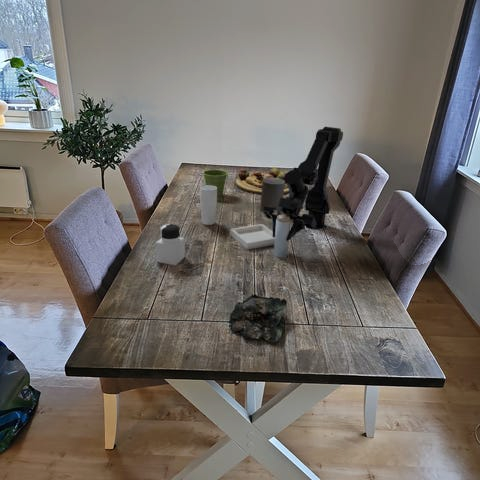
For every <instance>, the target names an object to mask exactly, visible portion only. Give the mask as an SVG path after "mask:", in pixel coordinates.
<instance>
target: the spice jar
mask: <svg viewBox="0 0 480 480" xmlns="http://www.w3.org/2000/svg"><path fill="white" fill-rule="evenodd" d="M291 222H292V220H290V216H288V215H284V214H281V215H278V216H277V219H276V229H275V242H274V245H273V256H274V257H275V258H277V259H278V258H279V259H284V258H287V257H288V251H289V243H290V240H289V241H287V240H286V239H287V236H288V234H289V232H290V230H291Z"/></svg>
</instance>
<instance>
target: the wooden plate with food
mask: <svg viewBox="0 0 480 480" xmlns="http://www.w3.org/2000/svg"><path fill="white" fill-rule="evenodd" d="M286 173H287V172H285V171H281V172H280V170H279V169H278V168H277V167H275V166H274V167H271V168H270V170H269V173H266V172H260V171H257V170H256V171H253V172H251V173H250V172H249V171H248V170H247V169H245V168H241V169H240V170H239V171H238V175H237V176H238V177H237V178H236V179H235V186H236V187H237V188H239V190H241V191H244V192H245V193H250V194H253V195H254V194H255V195H260V196H261V194H262V182H263V179H264V178H279V179H282V180H284V177H285V174H286ZM284 181H285V180H284ZM290 192H291V191H290V190H289V189H288V187H287V184H286V182H285V184H284V194H283V195H286V194H287V195H288V194H290Z"/></svg>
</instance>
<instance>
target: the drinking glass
mask: <svg viewBox="0 0 480 480" xmlns="http://www.w3.org/2000/svg"><path fill="white" fill-rule="evenodd" d="M199 202H200V204H199V205H200V212H201V213H200V214H201V224H203V225H204V226H212V225H214V224H215V223H216V211H217V203H218V197H217V187H216V186H212V185H206V184H205V185H201V186H200V187H199Z"/></svg>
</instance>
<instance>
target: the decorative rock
mask: <svg viewBox="0 0 480 480" xmlns="http://www.w3.org/2000/svg"><path fill="white" fill-rule="evenodd" d="M287 306H288V301H287V300H286V299H285V298H282V299H281V298H279V297H271V296H270V297H267V296H261V295H257V294H251V296H249V297H248V298H246V299H245V300H243V301H239V302H236V304H235V305H234V309H233V310H232V312H231V313H230V314H229V322H228V324H229V325H228V326H230V327H229V329H230V331H233V332H240V334H241V335H242V337H244V338H250V339H260V338H263V339H265V340H266V342H267V343H273V344H274V343H278V342H280V341H281V338H282V337H283V331H284V326H285V324H286V318H285V317H284V315H285V312H286V309H287ZM265 321H267V322H265Z"/></svg>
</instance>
